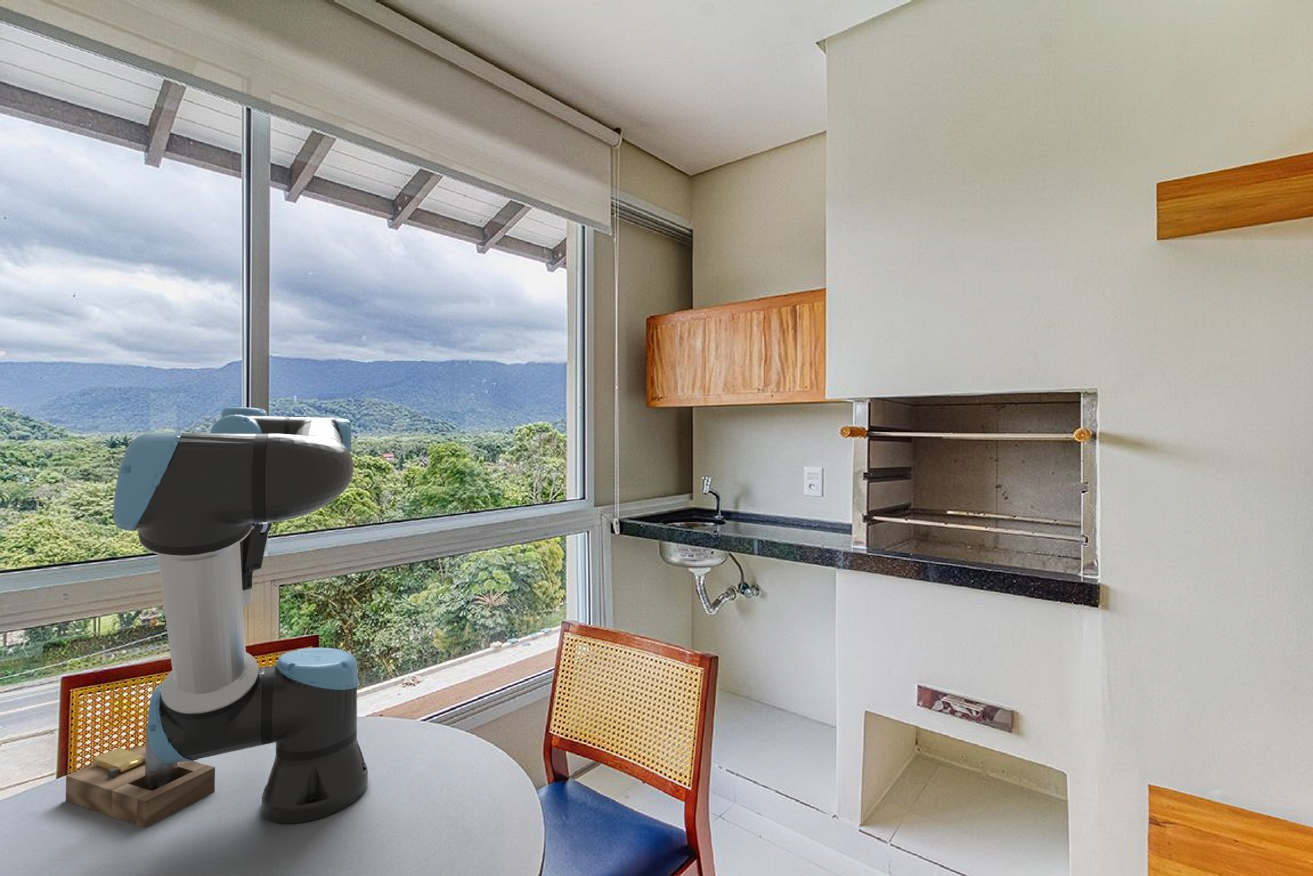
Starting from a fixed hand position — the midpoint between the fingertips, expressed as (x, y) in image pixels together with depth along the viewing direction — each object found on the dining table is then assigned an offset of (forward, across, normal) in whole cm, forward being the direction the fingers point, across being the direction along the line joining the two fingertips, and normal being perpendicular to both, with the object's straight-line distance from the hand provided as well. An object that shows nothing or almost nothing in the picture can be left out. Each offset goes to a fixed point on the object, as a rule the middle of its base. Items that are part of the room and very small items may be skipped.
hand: (241, 605), depth 114 cm
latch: (+22, +3, +18) cm, 29 cm away
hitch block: (+26, -3, +18) cm, 32 cm away
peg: (+26, -8, +18) cm, 33 cm away
